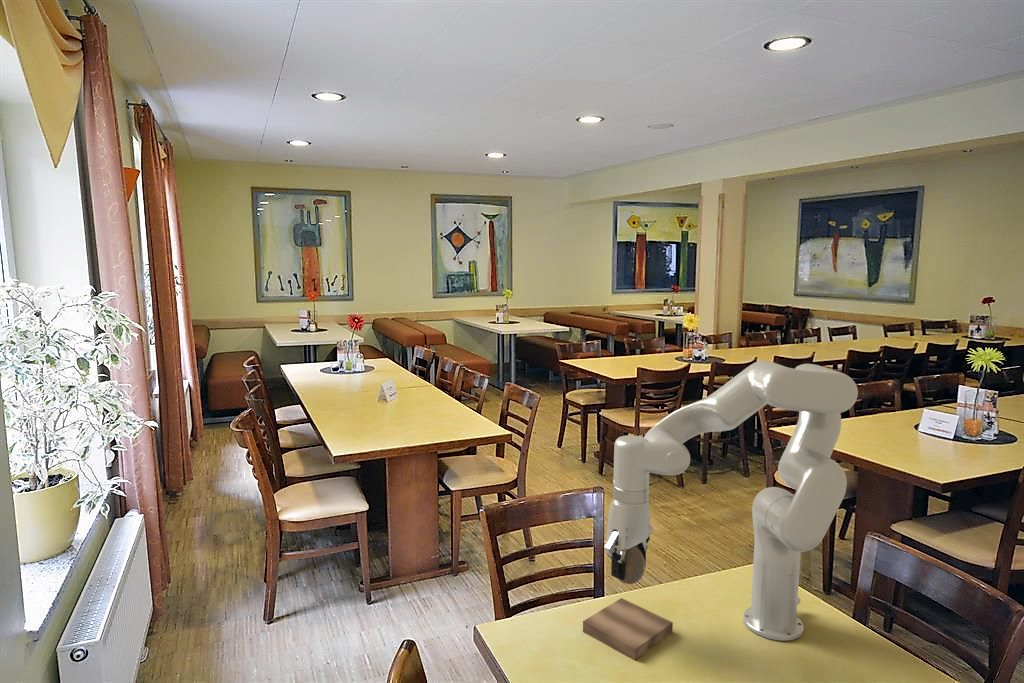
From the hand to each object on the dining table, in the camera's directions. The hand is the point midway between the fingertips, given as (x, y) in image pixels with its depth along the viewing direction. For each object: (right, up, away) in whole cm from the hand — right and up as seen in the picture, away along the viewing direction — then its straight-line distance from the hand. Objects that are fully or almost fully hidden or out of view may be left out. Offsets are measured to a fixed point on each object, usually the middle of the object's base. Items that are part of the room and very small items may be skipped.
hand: (628, 571), depth 139 cm
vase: (0, -2, 0) cm, 2 cm away
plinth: (0, -14, +2) cm, 14 cm away
